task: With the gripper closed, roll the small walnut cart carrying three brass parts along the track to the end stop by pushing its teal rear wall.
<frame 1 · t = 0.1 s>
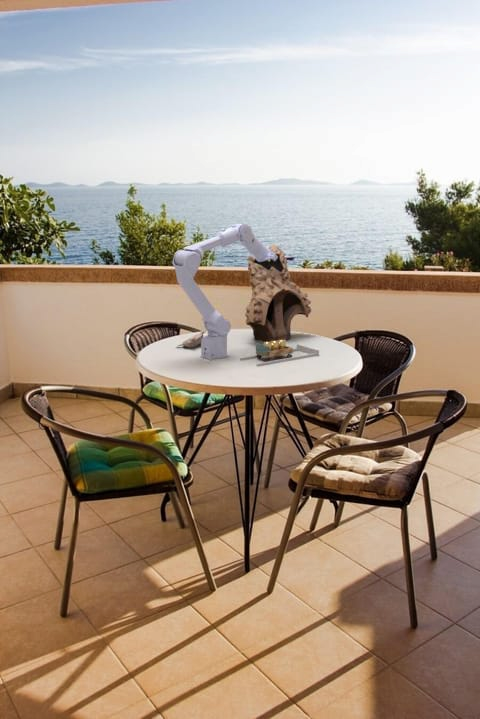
hand: (276, 269, 261), 32 cm above the table, fingers open, 7 cm apart
part c: (281, 350, 251), point 3 cm above the table, touching cart
cart: (274, 350, 249), point 4 cm above the table, slide at 0.0 cm, touching part a, part b, part c
track: (279, 359, 251), on the table
part b: (274, 351, 249), point 3 cm above the table, touching cart
part a: (267, 352, 247), point 3 cm above the table, touching cart
bust: (272, 339, 286), on the table
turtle: (191, 346, 272), on the table
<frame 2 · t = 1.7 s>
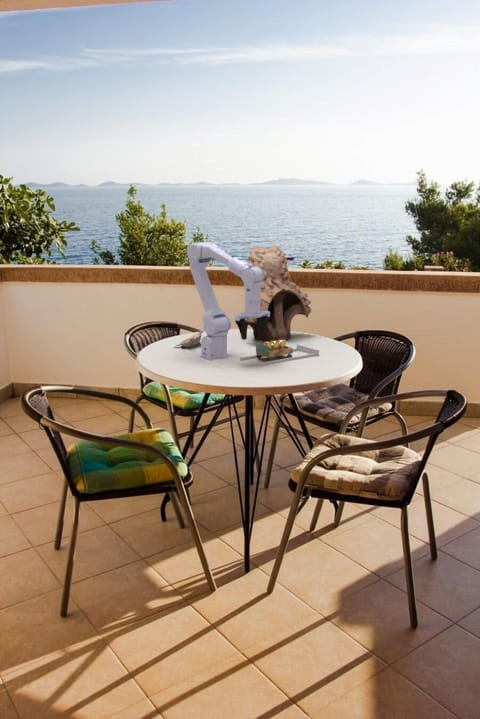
hand: (252, 338, 241), 10 cm above the table, fingers open, 7 cm apart
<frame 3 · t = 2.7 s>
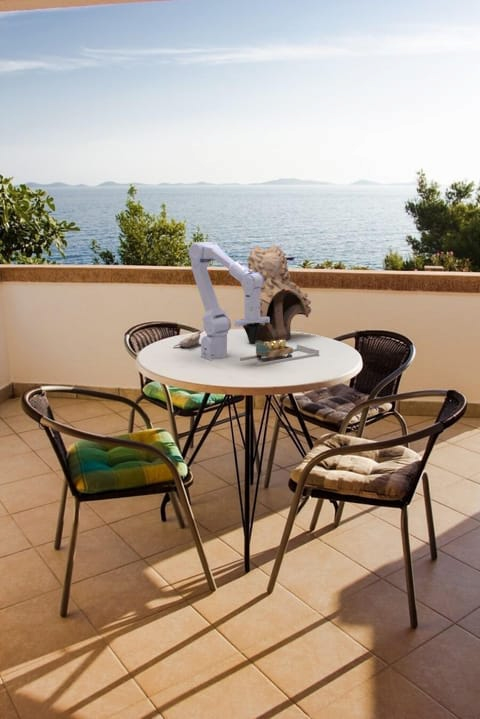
hand: (252, 343, 242), 8 cm above the table, fingers closed
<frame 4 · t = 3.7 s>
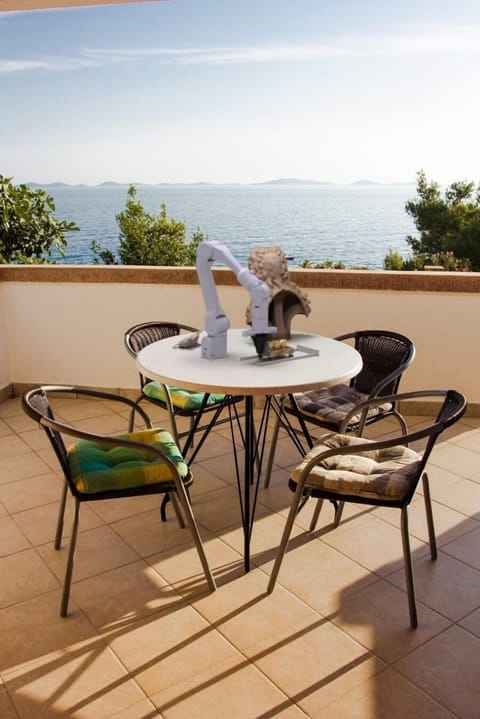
hand: (259, 353, 245), 4 cm above the table, fingers closed
cart: (275, 350, 249), point 4 cm above the table, slide at 0.6 cm, touching gripper, part a, part b, part c
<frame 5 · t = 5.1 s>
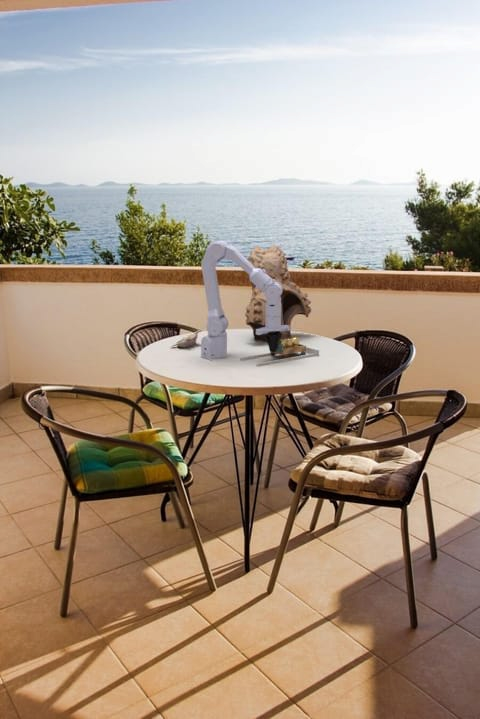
hand: (272, 351, 248), 4 cm above the table, fingers closed
part c: (295, 348, 254), point 3 cm above the table, touching cart
cart: (288, 348, 252), point 4 cm above the table, slide at 6.7 cm, touching gripper, part a, part b, part c
part b: (288, 349, 253), point 3 cm above the table, touching cart
part a: (281, 350, 251), point 3 cm above the table, touching cart
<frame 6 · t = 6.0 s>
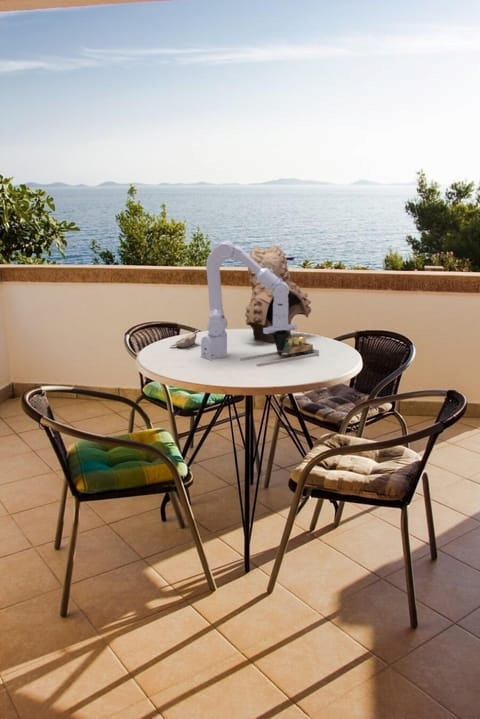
hand: (279, 350, 250), 4 cm above the table, fingers closed
part c: (301, 346, 256), point 3 cm above the table, touching cart
cart: (294, 347, 254), point 4 cm above the table, slide at 10.0 cm, touching gripper, part a, part b, part c, track
part b: (295, 348, 254), point 4 cm above the table, touching cart
part a: (288, 349, 253), point 3 cm above the table, touching cart
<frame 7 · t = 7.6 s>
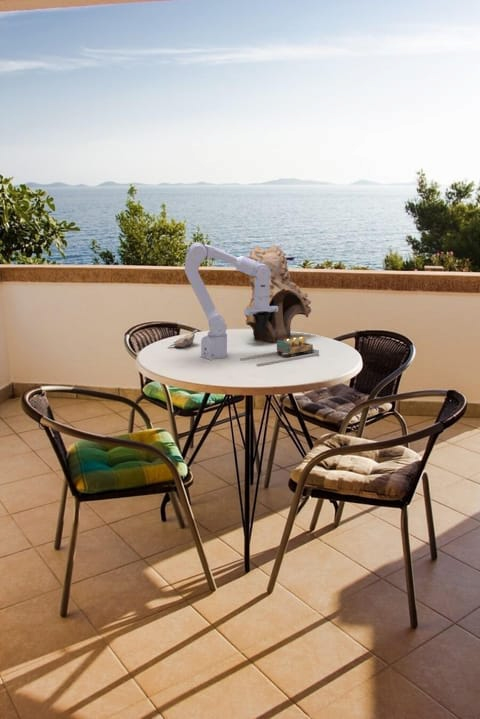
hand: (261, 331, 253), 10 cm above the table, fingers closed
cart: (294, 347, 254), point 4 cm above the table, slide at 10.0 cm, touching part a, part b, part c
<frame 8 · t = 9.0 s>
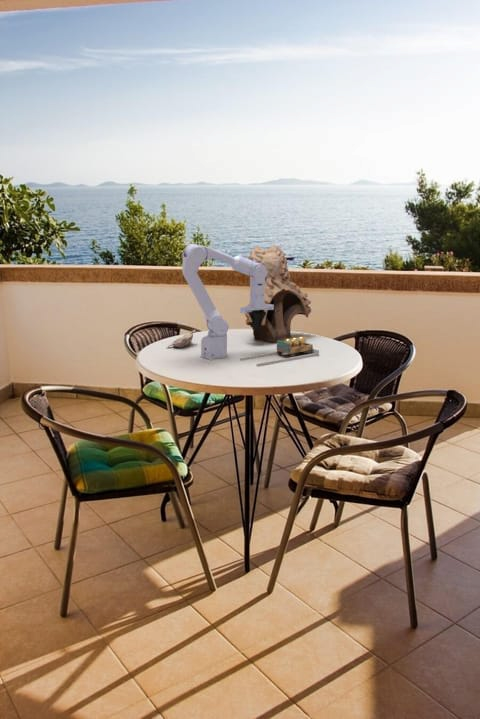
hand: (257, 329, 256), 10 cm above the table, fingers closed
at the end: cart slide at 9.9 cm; part a inside the target area on the cart (3.3 cm from its centre), point 2.8 cm above the cart's base; part c inside the target area on the cart (3.5 cm from its centre), point 2.8 cm above the cart's base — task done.
